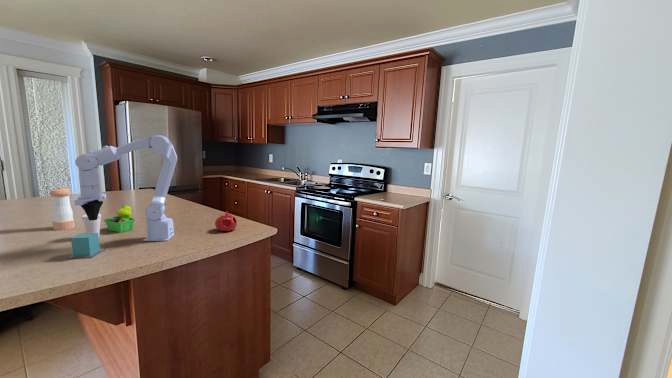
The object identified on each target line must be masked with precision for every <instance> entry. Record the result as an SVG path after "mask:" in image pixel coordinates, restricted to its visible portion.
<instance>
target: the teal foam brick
mask: <svg viewBox="0 0 672 378" xmlns="http://www.w3.org/2000/svg"><path fill="white" fill-rule="evenodd" d="M100 246H101V245H100V235H98V233H85V232H84V233H83V232H82V233H80V234H77V235H74V236H73V237H71V248H72V255H73V256H90V255H92V254H94V253H96V252H98V251H99V250H100V249H101V248H100Z"/></svg>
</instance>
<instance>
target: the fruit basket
mask: <svg viewBox="0 0 672 378" xmlns="http://www.w3.org/2000/svg"><path fill="white" fill-rule="evenodd" d="M130 206H131V205H128V204H125V205H123V206H122V207H121V208H119V209H118V210H117V211H116V215H117V216H113V217H110V218H106V219H104V220H103V221H104V222H105V225H106V227H107V229H108V231H112V232H116V233H125V232H129V231H133V230H134V229H133V228H134V224H135V221H136V218H133V217H131V216H132V207H130Z"/></svg>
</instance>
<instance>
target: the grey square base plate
mask: <svg viewBox="0 0 672 378" xmlns="http://www.w3.org/2000/svg"><path fill="white" fill-rule="evenodd" d="M103 252H105V249H103V248H102V249H101V248H100V250H99V251H98V252H96V253H94V254H92V255H90V256H73V254H71V255H70V256H68V259H93V258H95V257H96V256H97V255H100V254H101V253H103Z"/></svg>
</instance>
